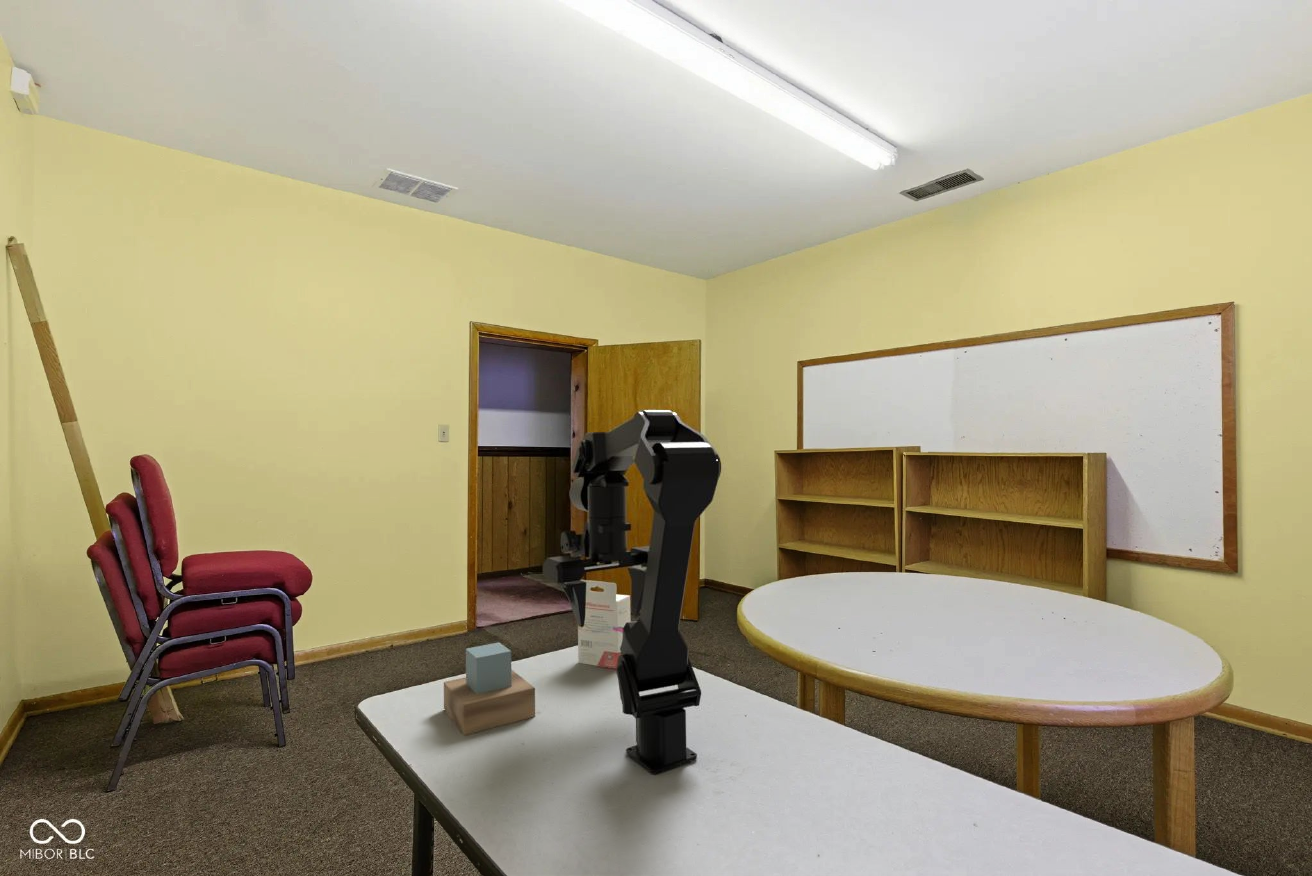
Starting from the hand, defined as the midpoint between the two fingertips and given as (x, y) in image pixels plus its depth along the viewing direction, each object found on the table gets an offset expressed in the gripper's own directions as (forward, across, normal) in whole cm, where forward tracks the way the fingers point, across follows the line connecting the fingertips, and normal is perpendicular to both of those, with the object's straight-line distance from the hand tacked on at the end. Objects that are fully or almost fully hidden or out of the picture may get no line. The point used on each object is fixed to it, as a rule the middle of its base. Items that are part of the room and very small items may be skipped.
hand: (608, 621), depth 93 cm
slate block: (+8, +16, -7) cm, 19 cm away
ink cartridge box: (+12, -8, -16) cm, 22 cm away
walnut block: (+12, +16, -7) cm, 21 cm away
